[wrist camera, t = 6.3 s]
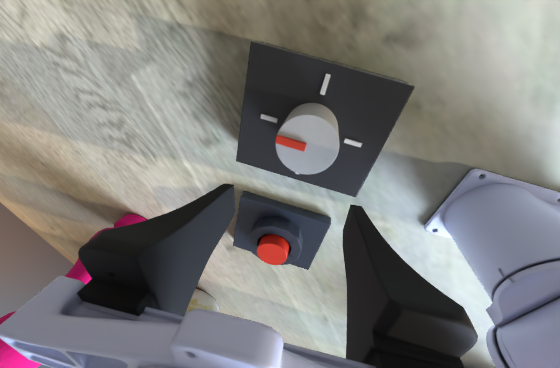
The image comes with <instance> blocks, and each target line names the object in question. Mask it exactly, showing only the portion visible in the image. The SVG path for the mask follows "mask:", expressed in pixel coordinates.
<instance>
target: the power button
mask: <svg viewBox="0 0 560 368" xmlns="http://www.w3.org/2000/svg"><path fill="white" fill-rule="evenodd" d="M288 250H289V244H288V242H287V241H286V240H285V239H284V238H283V237H281V236H279V235H276V234H268V235H265V236H263V237H262V238H261V240H260V243H259V246H258V248H257V254H258V256H259V258H260V259H261V260H262V261H264V262H266V263H268V264H272V265H279V264H282V263H284V262H285V261H286V259H287V255H288Z"/></svg>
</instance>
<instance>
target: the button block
mask: <svg viewBox="0 0 560 368" xmlns="http://www.w3.org/2000/svg"><path fill="white" fill-rule="evenodd" d="M330 225H331V218H330V217H327V216H323V215H320V214H317V213H314V212H310V211H307V210H304V209H301V208H297V207H294V206H291V205H288V204H284V203H281V202H278V201H275V200H272V199H268V198H265V197H262V196H259V195H255V194H252V193H249V192H246V191H244V192H243V193H242V195H241V197H240V203H239V210H238V216H237V223H236V229H235V236H234V242H233V246H236V247H239V248H242V249H245V250H248V251H251V252H252V253H253V254H254V255H256V256H257V257H258V258H259V256H258V254H257V248H258V246H259V243H260V240H261V238H262V237H263V236H265V235H268V234H276V235H279V236H281V237H283V238H284V239H285V240H286V241H287V242H288V244H289V250H288V255H287V259H286V261H285V262H284V263H282V264H279V265H285V264H292V265H295V266H298V267H301V268H304V269H307V270H308V269H309V267H310V265H311V263H312V261H313V259H314V257H315V255H316V253H317V251H318V249H319V247H320V245H321V243H322V241H323V239H324V237H325V235H326V233H327V231H328V229H329V227H330Z"/></svg>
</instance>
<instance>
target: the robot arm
mask: <svg viewBox="0 0 560 368" xmlns="http://www.w3.org/2000/svg"><path fill="white" fill-rule="evenodd" d="M482 174H483V176H481V177H479V176H480V175H482ZM559 198H560V192H557V191H554V190H550V189H547V188H543V187H540V186H536V185H533V184H529V183H526V182H523V181H519V180H516V179H512V178H509V177H505V176H502V175H498V174H495V173H491V172H488V171H485V170H481V169H472V170H471V171H470V172H469V173H468V174H467V175H466V176H465V177H464V179H463V180H462V181H461V182H460V183H459V185H458V186H457V187H456V188H455V189H454V191H453V192H452V193H451V194H450V195H449V197H448V198H447V199H446V200H445V201H444V203H443V204H442V205H441V206H440V207H439V209H438V210H437V211H436V212H435V213H434V215H433V216H432V217H431V218H430V219H429V221H428V222H427V223H426V224H425V225H424V229H425V231H427V232H430V233H433V234H437V235H440V236H443V237H446V238H450V239H453V240H454V242H455V243H456V245H457V247H458V248H459V250H460V251H461V253H462V254H463V256H464V258H465V259H466V261H467V262H468V264H469V266H470V267H471V269H472V270H473V272H474V274H475V275H476V277H477V278H478V280H479V282H480V283H481V285H482V286H483V288H484V290H485V291H486V293H487V294H488V296H489V298H490V299H491V301H492V302H493V303H492V305H491V306H490V307H488V308H487V309H486V311H487V313H488V314H489V316H490V318H491V319H492V321H493V323H494V324H495V325H494V326H492V327H491V328H490V329H489V330H488V332H487V335H486V341H487V346H488V350H489V353H490V356H491V358H492V361H493V363H494V365H495V367H496V368H560V199H559ZM234 212H235V197H234V185H231V184H223V185H221V186H219V187H217V188H216V189H214V190H212V191H211V192H209V193H207V194H205V195H204V196H202V197H200V198H198V199H196V200H195V201H193V202H191V203H189V204H187V205H185V206H183V207H181V208H178V209H176V210H174V211H171V212H169V213H166V214H163V215H161V216H158V217H155V218H152V219H149V220H145V221H142V222H138V223H134V224H130V225H126V226H121V227H117V228H112V229H106V230H102V231H101V232H100V233H99V234H98V235H96V236H95V237H94V238H93V239H91V240H90V241H89V242H88V243H86V244H85V245H84V246H83V247H81V248H80V250H79V252H78V254H79V259H80V261H81V263H82V264H83V266H84V267H85V269H86V270H87V272H88V273H89V275H90V276H91V278H92V279H91V280H90V281H89V282H88V283H87V284H85V283H83V282H82V281H79V280H76V279H72V278H68V277H63V276H58V277H57V278H56V279H55V280H53V281H52V282H51V283H50V284H49V285H47V286H46V287H45V288H44V289H43V290H41V291H40V292H39V293H38V294H37V295H35V296H34V297H33V298H32V299H31V300H30V301H28V302H27V303H26V304H25V305H24V306H23V307H21V308H20V309H19V310H17V311H16V312H15V313H14V314H13V315H11V316H10V317H9V318H8V319H7V320H6V321H4V322H3V323H2V324H1V325H0V339H1V340H3V341H4V342H6V343H7V344H8V345H10V346H11V347H12V348H14V349H15V350H16V351H18V352H19V353H20V354H22V355H23V356H25V357H26V358H27V359H29V360H31V361H34V362H37V363H40V364H43V365H46V366H49V367H52V368H464V366H463V364H462V361H461V359H460V357H461V356H462V355H463V354H465V353H466V352H467V351H468V350H470V349H471V348H472V347H473V346H474V345H475V343H476V342H477V338H478V335H477V333H476V331H475V329H474V327H473V325H472V323H471V321H470V319H469V317H468V315H467V313H466V311H465V310H464V308H463V307H462V306H461V305H459V304H458V303H456V302H455V301H453V300H452V299H451V298H449V297H448V296H446V295H445V294H443V293H442V292H441V291H439V290H438V289H437V288H435V287H434V286H433V285H431V284H430V283H429V282H428V281H426V280H425V279H424V278H423V277H422V276H420V275H419V274H418V273H417V272H416V271H415V270H413V269H412V268H411V267H410V266H409V265H408V264H407V263H406V262H405V261H404V260H403V259H402V258H401V257H400V256H399V255H398V254H397V253H396V252H395V251H394V250H393V249H392V248H391V247H390V245H389V244H388V243H387V242H386V241H385V239H384V238H383V237H382V236H381V234H380V233H379V232H378V230H377V229H376V227H375V226H374V225H373V223H372V222H371V220H370V219H369V217H368V216H367V214H366V212H365V211H364V209H363V208H362V206H356V205H350V209H349V212H348V215H347V219H346V222H345V225H344V229H343V253H344V262H345V271H346V279H347V345H346V359H345V358H341V357H337V356H333V355H329V354H325V353H322V352H318V351H314V350H310V349H306V348H302V347H299V346H295V345H291V344H287V343H283V340H282V337H281V335H280V334H279V333H278V332H277V331H275V330H274V329H273V328H272V327H269V326H267V325H264V324H262V323H259V322H255V321H251V320H247V319H243V318H239V317H235V316H231V315H227V314H223V313H219V312H215V311H211V310H207V309H198V308H196V309H194V310H191V311H188V312H187V313H186V311H187V308H188V305H189V303H190V300H191V298H192V295H193V293H194V291H195V288H196V286H197V284H198V281H199V279H200V277H201V275H202V272H203V270H204V268H205V266H206V264H207V262H208V259H209V257H210V256H211V254H212V252H213V250H214V249H215V247H216V245H217V244H218V242H219V240H220V239H221V237H222V236H223V234H224V232H225V231H226V229H227V227H228V226H229V224H230V222H231V219H232V217H233V215H234ZM434 228H436V229H434ZM433 229H434V230H433ZM185 313H186V314H185Z"/></svg>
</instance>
